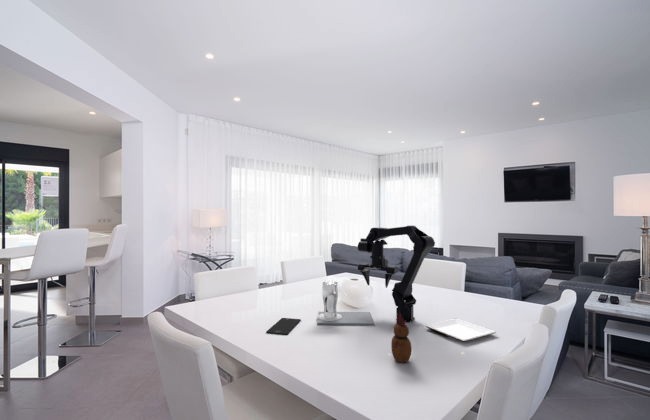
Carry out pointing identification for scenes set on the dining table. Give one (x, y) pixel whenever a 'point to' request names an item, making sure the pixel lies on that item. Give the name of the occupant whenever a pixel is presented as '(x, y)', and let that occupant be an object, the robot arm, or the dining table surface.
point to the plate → (460, 329)
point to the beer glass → (330, 299)
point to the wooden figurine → (401, 341)
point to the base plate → (347, 319)
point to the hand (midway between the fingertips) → (377, 286)
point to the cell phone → (283, 326)
